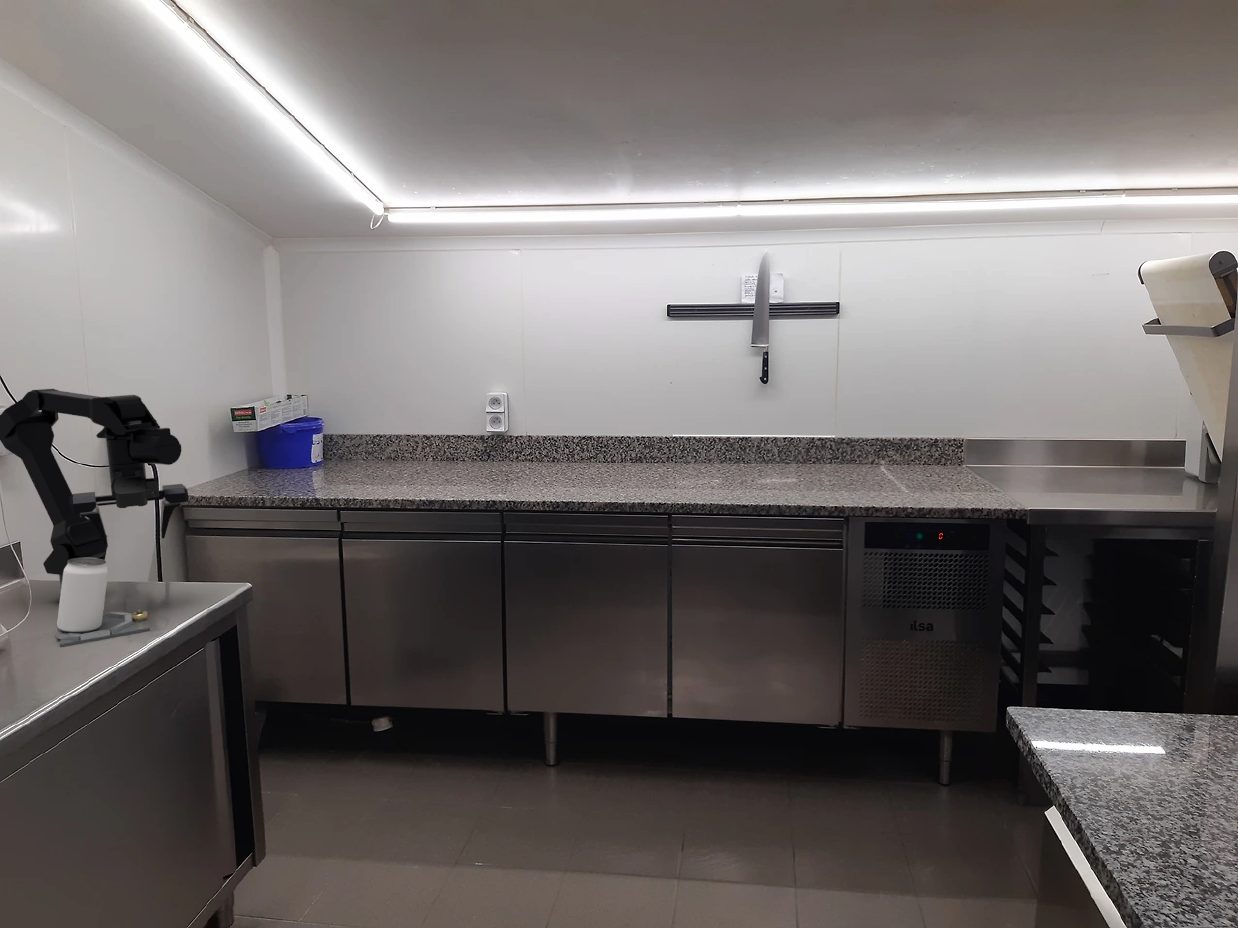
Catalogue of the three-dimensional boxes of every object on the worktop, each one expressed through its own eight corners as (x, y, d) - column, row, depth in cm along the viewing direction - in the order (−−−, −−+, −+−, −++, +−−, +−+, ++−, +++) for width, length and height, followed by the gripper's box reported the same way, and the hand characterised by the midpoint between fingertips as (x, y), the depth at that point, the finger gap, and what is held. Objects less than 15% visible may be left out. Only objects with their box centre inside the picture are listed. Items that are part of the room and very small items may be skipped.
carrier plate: (61, 628, 134) (61, 625, 134) (146, 613, 142) (146, 610, 142) (60, 647, 126) (59, 644, 126) (150, 630, 134) (149, 627, 134)
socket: (58, 624, 135) (57, 620, 135) (130, 611, 141) (130, 607, 141) (56, 644, 126) (55, 640, 126) (133, 630, 132) (132, 626, 132)
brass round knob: (132, 618, 138) (131, 609, 137) (147, 616, 139) (146, 607, 139) (132, 622, 136) (131, 613, 135) (148, 620, 137) (147, 610, 137)
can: (75, 635, 128) (83, 567, 127) (47, 627, 130) (55, 560, 129) (110, 627, 134) (118, 562, 134) (83, 619, 136) (90, 555, 135)
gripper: (64, 473, 129) (75, 560, 132) (187, 463, 140) (195, 543, 142) (66, 464, 138) (75, 545, 141) (181, 455, 149) (188, 531, 151)
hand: (135, 541), depth 143 cm, fingers open, 9 cm apart
